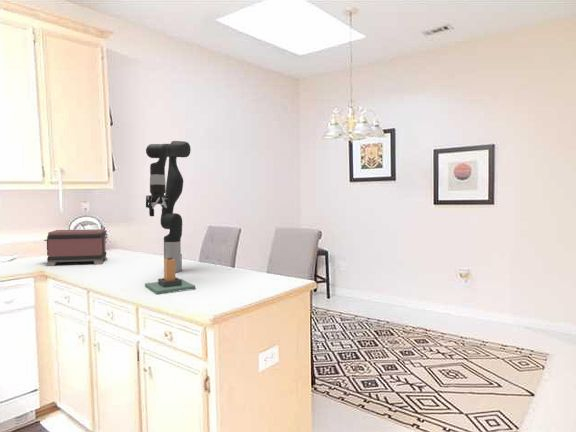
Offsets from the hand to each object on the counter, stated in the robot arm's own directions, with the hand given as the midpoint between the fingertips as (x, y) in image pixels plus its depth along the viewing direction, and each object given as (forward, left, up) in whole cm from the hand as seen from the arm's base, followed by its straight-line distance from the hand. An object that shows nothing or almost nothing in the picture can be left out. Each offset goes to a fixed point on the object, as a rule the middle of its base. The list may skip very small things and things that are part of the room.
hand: (158, 215), depth 203 cm
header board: (+10, +16, -33) cm, 38 cm away
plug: (+10, +16, -32) cm, 37 cm away
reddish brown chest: (-16, -83, -34) cm, 91 cm away
